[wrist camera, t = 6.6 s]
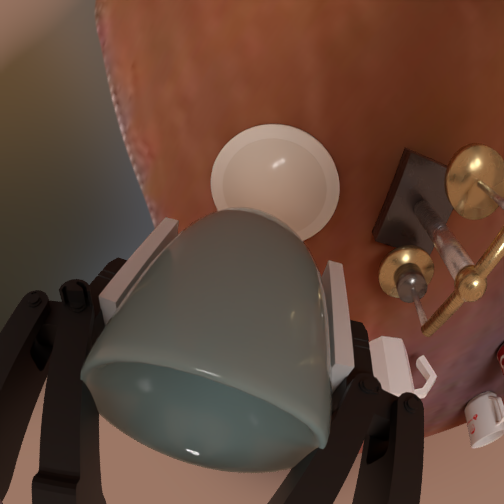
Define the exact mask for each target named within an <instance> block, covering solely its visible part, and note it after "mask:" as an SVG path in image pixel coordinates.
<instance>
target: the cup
mask: <svg viewBox="0 0 504 504" xmlns="http://www.w3.org/2000/svg"><path fill="white" fill-rule="evenodd" d="M80 378H81V380H83V382H84V383H85V384H86V385H87V387H88V389H89V390H90V392H91V394H92V396H93V399H94V401H95V404H96V407H97V410H98V412H99V414H100V415H101V416H102V417H103V418H105V419H106V420H107V421H108V422H109V423H110V424H112V425H113V426H115V427H116V428H118V429H119V430H120V431H122V432H123V433H125V434H126V435H128V436H130V437H131V438H133V439H134V440H136V441H138V442H140V443H141V444H143V445H145V446H147V447H149V448H151V449H153V450H155V451H158V452H160V453H162V454H165V455H167V456H169V457H172V458H175V459H177V460H180V461H183V462H186V463H189V464H193V465H197V466H201V467H205V468H209V469H215V470H221V471H228V472H239V473H263V472H275V471H281V470H287V469H292V468H293V467H295V466H296V465H297V464H298V463H299V462H300V461H301V460H302V459H303V458H304V457H306V456H307V455H308V454H309V453H310V452H312V451H313V450H314V449H316V448H318V447H319V448H321V449H324V448H325V447H326V445H327V441H328V438H329V434H330V427H331V415H332V356H331V336H330V323H329V314H328V307H327V301H326V296H325V291H324V287H323V282H322V279H321V275H320V271H319V269H318V266H317V264H316V262H315V260H314V258H313V256H312V254H311V252H310V250H309V248H308V247H307V246H306V244H305V243H304V242H303V241H302V239H301V238H300V237H299V235H298V234H297V233H296V232H295V231H294V230H293V229H292V228H290V227H289V226H288V225H287V224H286V223H285V222H283V221H281V220H280V219H278V218H277V217H275V216H274V215H271V214H269V213H267V212H264V211H262V210H259V209H254V208H249V207H230V208H226V209H222V210H218V211H215V212H212V213H210V214H208V215H205V216H204V217H202V218H200V219H198V220H196V221H195V222H193V223H191V224H190V225H189V226H188V227H186V228H185V229H184V230H183V231H181V232H180V233H179V234H178V235H177V236H175V237H174V238H173V239H172V240H171V241H170V242H169V243H168V244H167V245H166V246H165V247H164V248H163V249H162V250H161V251H160V253H159V254H158V255H157V256H156V257H155V258H154V259H153V261H152V262H151V263H150V264H149V266H148V267H147V268H146V269H145V271H144V272H143V273H142V275H141V276H140V277H139V279H138V280H137V281H136V283H135V284H134V285H133V287H132V288H131V289H130V291H129V292H128V293H127V295H126V296H125V298H124V299H123V300H122V302H121V303H120V305H119V306H118V308H117V309H116V310H115V312H114V313H113V315H112V316H111V318H110V319H109V321H108V322H107V324H106V325H105V327H104V328H103V330H102V331H101V333H100V335H99V336H98V338H97V339H96V341H95V342H94V344H93V346H92V348H91V349H90V351H89V353H88V355H87V357H86V359H85V361H84V363H83V365H82V369H81V373H80Z"/></svg>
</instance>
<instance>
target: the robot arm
mask: <svg viewBox="0 0 504 504" xmlns="http://www.w3.org/2000/svg"><path fill="white" fill-rule="evenodd" d="M178 223H179V221H178V220H174V219H170V218H167V217H165V219H164V220H163V221H162V222H161V223H160V224H159V225H158V226H157V227H156V228H155V230H154V231H153V232H152V233H151V234H150V235H149V236H148V237H147V238H146V240H145V241H144V242H143V243H142V244H141V245H140V247H139V248H138V249H137V250H136V251H135V252H134V253H133V255H132V256H131V257H130V258H129V259H128V260H124V259H121V258H116V259H115V260H113V261H111V262H109V263H108V264H107V265H106V267H105V268H104V269H103V271H101V272H100V273H99V274H98V276H97V277H96V278H95V279H94V280H93V281H92V283H91V284H90V285H88V283H87V282H85V281H83V280H79V279H74V280H69V281H67V282H65V283H64V284H63V285H62V286H61V287H60V289H59V292H60V295H61V299H62V302H57V301H49V299H48V296H47V295H46V293H45V292H43V291H39V290H36V291H31V292H29V293H27V294H26V295H25V296H24V297H23V299H22V300H21V302H20V303H19V304H18V306H17V307H16V309H15V310H14V312H13V314H12V315H11V317H10V318H9V320H8V321H7V323H6V325H5V326H4V328H3V329H2V331H1V333H0V504H3V503H2V501H3V499H4V497H5V495H6V493H7V491H8V489H9V486H10V483H11V480H12V476H13V472H14V469H15V465H16V461H17V458H18V454H19V451H20V448H21V445H22V441H23V438H24V435H25V432H26V429H27V426H28V423H29V421H30V418H31V415H32V412H33V410H34V407H35V404H36V402H37V399H38V397H39V394H40V392H41V389H42V387H43V384H44V382H45V380H46V377H47V383H46V389H45V397H44V404H43V414H42V424H41V437H40V459H39V461H40V462H39V471H38V473H37V474H36V475H35V476H34V477H33V480H32V504H106V501H105V498H104V496H103V493H102V486H101V473H100V456H99V412H98V410H97V407H96V404H95V401H94V399H93V396H92V394H91V392H90V390H89V389H88V387H87V385H86V384H85V383H84V382H83V380H81V378H80V373H81V369H82V365H83V363H84V361H85V359H86V357H87V355H88V353H89V351H90V349H91V348H92V346H93V344H94V342H95V341H96V339H97V338H98V336H99V335H100V333H101V331H102V330H103V328H104V327H105V325H106V324H107V322H108V321H109V319H110V318H111V316H112V315H113V313H114V312H115V310H116V309H117V308H118V306H119V305H120V303H121V302H122V300H123V299H124V298H125V296H126V295H127V293H128V292H129V291H130V289H131V288H132V287H133V285H134V284H135V283H136V281H137V280H138V279H139V277H140V276H141V275H142V273H143V272H144V271H145V269H146V268H147V267H148V266H149V264H150V263H151V262H152V261H153V259H154V258H155V257H156V256H157V255H158V254H159V253H160V251H161V250H162V249H163V248H164V247H165V246H166V245H167V244H168V243H169V242H170V241H171V240H172V239H173V238H174V237H175V236H177V235H178ZM321 279H322V282H323V287H324V291H325V296H326V301H327V307H328V314H329V323H330V336H331V356H332V415H331V427H330V434H329V438H328V441H327V445H326V447H325V448H324V449H321V448H319V447H318V448H316V449H314V450H313V451H312V452H310V453H309V454H308V455H307V456H306V457H304V458H303V459H302V460H301V461H300V462H299V463H298V464H297V465H296V466H295V467H293V468H292V469H291V471H290V472H289V474H288V475H287V477H286V479H285V480H284V481H283V483H282V484H281V485H280V487H279V488H278V490H277V491H276V493H275V494H274V496H273V497H272V498H271V500H270V501H269V502H268V504H333V502H334V501H335V498H336V497H337V495H338V493H339V491H340V489H341V487H342V486H343V483H344V481H345V480H346V478H347V476H348V473H349V471H350V469H351V467H352V465H353V463H354V461H355V459H356V457H357V454H358V452H359V450H360V448H361V445H362V443H363V441H364V445H363V451H362V458H361V464H360V469H359V474H358V479H357V484H356V489H355V494H354V498H353V503H352V504H419V502H420V494H421V483H422V470H423V452H424V450H423V449H424V407H423V403H422V401H421V400H420V398H419V397H418V396H417V395H416V394H413V393H411V392H405V393H403V394H401V395H400V396H399V397H398V396H396V395H393V394H391V393H389V392H387V391H385V390H383V389H382V387H381V383H380V382H379V381H378V379H377V378H376V377H374V375H373V368H372V361H371V353H370V349H369V348H370V346H369V342H368V341H369V339H368V333H367V330H366V329H365V327H364V325H363V323H361V322H357V321H352V320H350V316H349V308H348V300H347V293H346V286H345V279H344V272H343V266H342V264H341V263H337V262H333V261H330V260H329V261H328V263H327V266H326V268H325V270H324V273H323V275H322V277H321ZM47 375H48V376H47Z"/></svg>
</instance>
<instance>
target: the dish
mask: <svg viewBox="0 0 504 504" xmlns="http://www.w3.org/2000/svg"><path fill="white" fill-rule="evenodd" d="M211 192H212V197H213V200H214V203H215V205H216V208H217V210H222V209H226V208H230V207H249V208H254V209H259V210H262V211H264V212H267V213H269V214H271V215H274V216H275V217H277V218H278V219H280V220H281V221H283V222H285V223H286V224H287V225H288V226H289V227H290V228H292V229H293V230H294V231H295V232H296V233H297V234H298V235H299V237H300V238H301V239H302V241H304V240H306V239H308V238H310V237H312V236H313V235H315V234H316V233H317V232H319V231H320V230H321V229H322V228H323V227H324V226H325V225H326V224H327V223H328V221H329V220H330V219H331V217H332V215H333V214H334V211H335V209H336V207H337V203H338V200H339V192H340V183H339V177H338V173H337V169H336V166H335V163H334V161H333V159H332V157H331V155H330V154H329V152H328V151H327V149H326V148H325V147H324V146H323V145H322V144H321V143H320V142H319V141H318V140H317V139H316V138H315V137H313V136H312V135H310V134H309V133H307V132H305V131H303V130H301V129H299V128H296V127H293V126H290V125H284V124H262V125H258V126H254V127H251V128H249V129H246V130H244V131H243V132H241V133H239V134H238V135H236V136H235V137H234V138H232V139H231V140H230V141H229V142H228V143H227V144H226V145H225V146H224V147H223V149H222V150H221V151H220V153H219V155H218V156H217V158H216V160H215V163H214V165H213V169H212V174H211Z"/></svg>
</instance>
